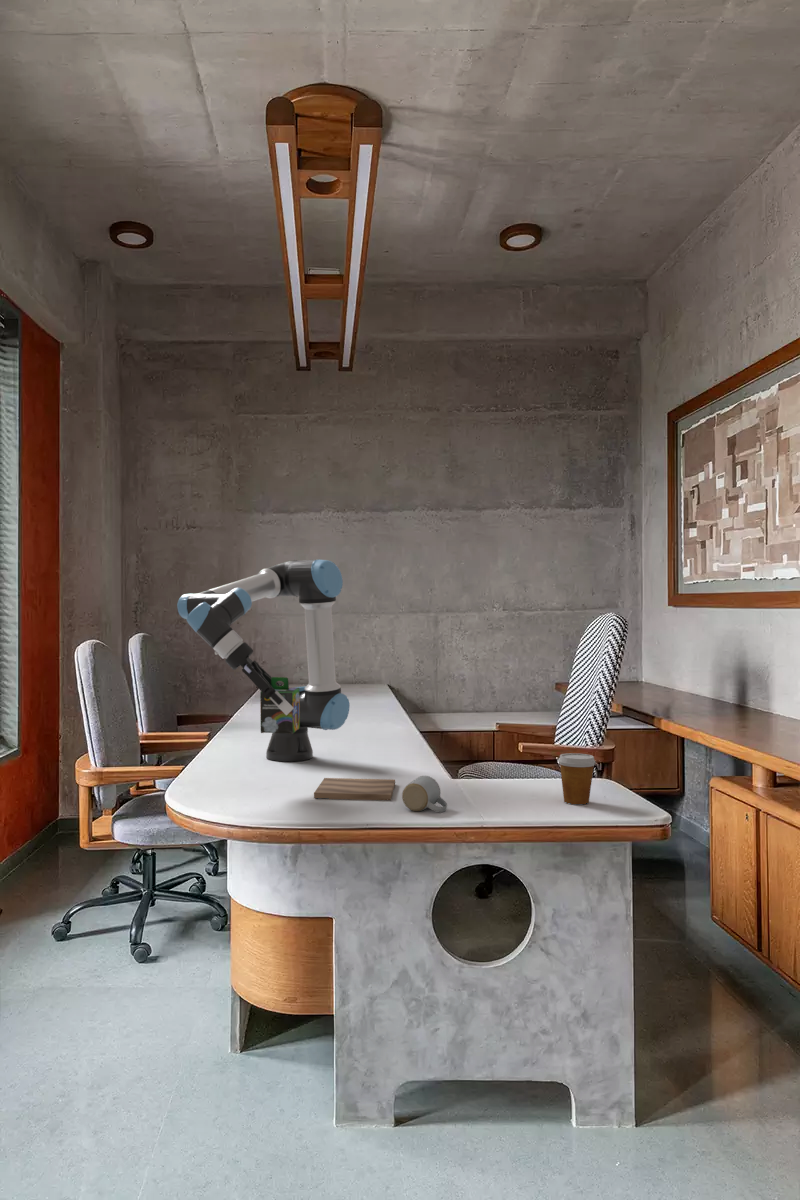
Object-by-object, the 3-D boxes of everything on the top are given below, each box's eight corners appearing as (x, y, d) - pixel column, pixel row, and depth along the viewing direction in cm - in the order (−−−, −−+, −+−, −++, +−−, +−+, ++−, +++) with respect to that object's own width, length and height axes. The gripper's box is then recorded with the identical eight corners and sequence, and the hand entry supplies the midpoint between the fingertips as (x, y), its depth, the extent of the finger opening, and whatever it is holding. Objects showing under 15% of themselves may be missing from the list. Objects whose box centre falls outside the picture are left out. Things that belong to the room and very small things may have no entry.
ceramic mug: (399, 810, 219) (400, 779, 219) (412, 804, 227) (413, 773, 227) (440, 816, 215) (440, 784, 215) (451, 809, 223) (452, 778, 223)
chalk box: (300, 729, 247) (300, 675, 247) (293, 734, 237) (294, 678, 238) (267, 728, 247) (267, 675, 247) (259, 733, 238) (259, 677, 238)
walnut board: (324, 783, 252) (324, 777, 252) (395, 784, 251) (395, 779, 251) (313, 798, 232) (314, 792, 232) (390, 800, 231) (390, 794, 231)
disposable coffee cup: (598, 806, 226) (599, 759, 226) (560, 806, 226) (561, 758, 226) (591, 798, 236) (591, 753, 236) (555, 798, 236) (555, 752, 236)
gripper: (230, 657, 253) (285, 714, 253) (217, 663, 231) (277, 724, 231) (249, 639, 253) (304, 695, 254) (238, 642, 231) (298, 704, 231)
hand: (291, 709), depth 242 cm, fingers closed on chalk box, 10 cm apart
